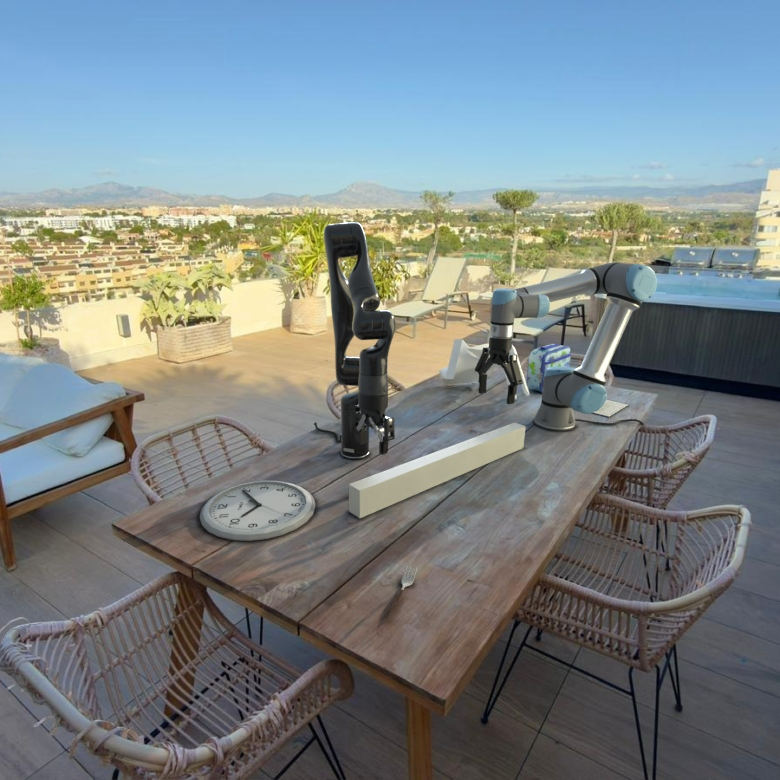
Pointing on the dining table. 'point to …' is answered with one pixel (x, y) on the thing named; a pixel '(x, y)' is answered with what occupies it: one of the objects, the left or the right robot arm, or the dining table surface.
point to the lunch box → (545, 363)
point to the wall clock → (257, 510)
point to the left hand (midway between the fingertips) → (372, 448)
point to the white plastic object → (471, 365)
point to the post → (432, 469)
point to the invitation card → (610, 408)
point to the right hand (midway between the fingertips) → (495, 398)
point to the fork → (405, 582)
